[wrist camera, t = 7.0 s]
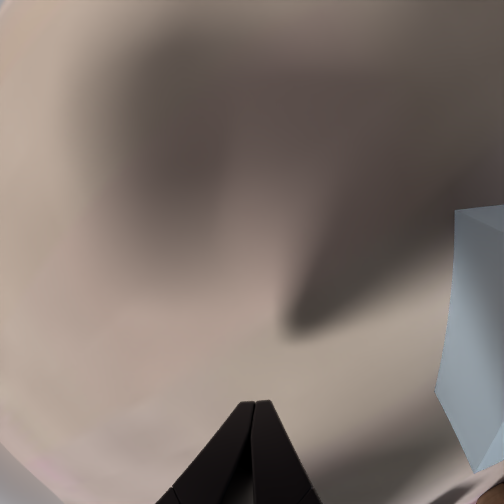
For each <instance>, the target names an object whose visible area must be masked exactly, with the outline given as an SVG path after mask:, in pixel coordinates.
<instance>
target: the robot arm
mask: <svg viewBox="0 0 504 504" xmlns="http://www.w3.org/2000/svg"><path fill="white" fill-rule="evenodd" d="M172 487H173V488H172ZM172 487H170V488H169V489H168V491H167V492H166V493H165V494H164V495H163V496H162V497H161V498H160V499H159V500H158V501H157V502H156V503H155V504H323V503H322V502H321V500H320V498H319V496H318V494H317V492H316V490H315V489H314V488H313V485H312V483H311V481H310V479H309V477H308V475H307V473H306V471H305V469H304V467H303V465H302V463H301V461H300V459H299V457H298V455H297V453H296V451H295V449H294V447H293V445H292V443H291V441H290V439H289V437H288V435H287V433H286V431H285V429H284V427H283V425H282V422H281V420H280V418H279V416H278V414H277V412H276V410H275V408H274V406H273V404H272V402H271V401H270V400H261V401H257V402H256V403H255V402H254V401H244V402H240V403H239V404H238V405H237V407H236V408H235V409H234V411H233V412H232V413H231V414H230V416H229V417H228V418H227V420H226V421H225V422H224V423H223V425H222V426H221V427H220V429H219V430H218V431H217V432H216V434H215V435H214V436H213V437H212V439H211V440H210V441H209V442H208V444H207V445H206V446H205V447H204V448H203V450H202V451H201V452H200V453H199V454H198V456H197V457H196V458H195V459H194V461H193V462H192V463H191V464H190V465H189V466H188V468H187V469H186V470H185V471H184V472H183V474H182V475H181V476H180V477H179V478H178V479H177V480H176V482H175V483H174V484H173V485H172Z"/></svg>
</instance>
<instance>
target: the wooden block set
mask: <svg viewBox="0 0 504 504" xmlns="http://www.w3.org/2000/svg"><path fill="white" fill-rule="evenodd" d="M476 504H504V483H501V484H499V485H497V486H495V487H493V488H491V489H490V490H488V491H487V492H485V493H484V494H483V495H482V496H481V497H480V498H479V499H478V501H477V503H476Z"/></svg>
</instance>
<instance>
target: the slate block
mask: <svg viewBox="0 0 504 504" xmlns="http://www.w3.org/2000/svg"><path fill="white" fill-rule="evenodd" d="M434 392H435V394H436V396H437V398H438V399H439V401H440V403H441V405H442V407H443V409H444V411H445V413H446V415H447V417H448V419H449V421H450V423H451V425H452V427H453V429H454V431H455V433H456V436H457V438H458V440H459V442H460V444H461V446H462V448H463V450H464V453H465V455H466V457H467V459H468V462H469V464H470V466H471V468H472V471H473V473H477V472H479V471H481V470H484V469H486V468H488V467H490V466H492V465H494V464H497V463H499V462H501V461H503V460H504V205H495V206H486V207H477V208H468V209H460V210H455V235H454V261H453V276H452V288H451V298H450V307H449V315H448V322H447V329H446V336H445V342H444V348H443V353H442V358H441V364H440V368H439V373H438V378H437V382H436V387H435V391H434Z"/></svg>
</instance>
